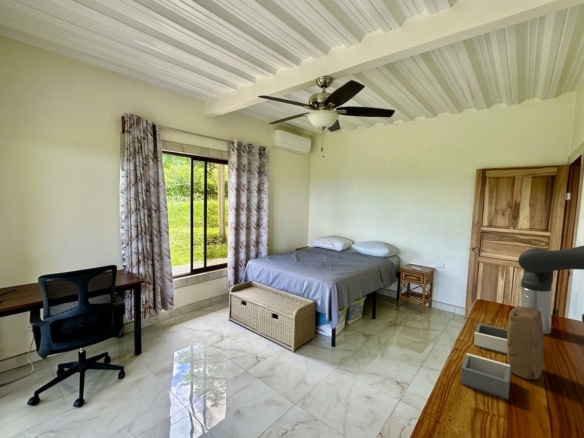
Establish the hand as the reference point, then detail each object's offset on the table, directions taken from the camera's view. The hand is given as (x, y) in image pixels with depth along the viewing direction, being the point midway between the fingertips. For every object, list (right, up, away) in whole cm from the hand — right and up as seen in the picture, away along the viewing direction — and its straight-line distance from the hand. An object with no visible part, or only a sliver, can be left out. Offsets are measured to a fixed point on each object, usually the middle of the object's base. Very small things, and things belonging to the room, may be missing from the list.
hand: (582, 318), depth 77 cm
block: (-8, -20, +9) cm, 24 cm away
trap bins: (-15, -20, +15) cm, 29 cm away
